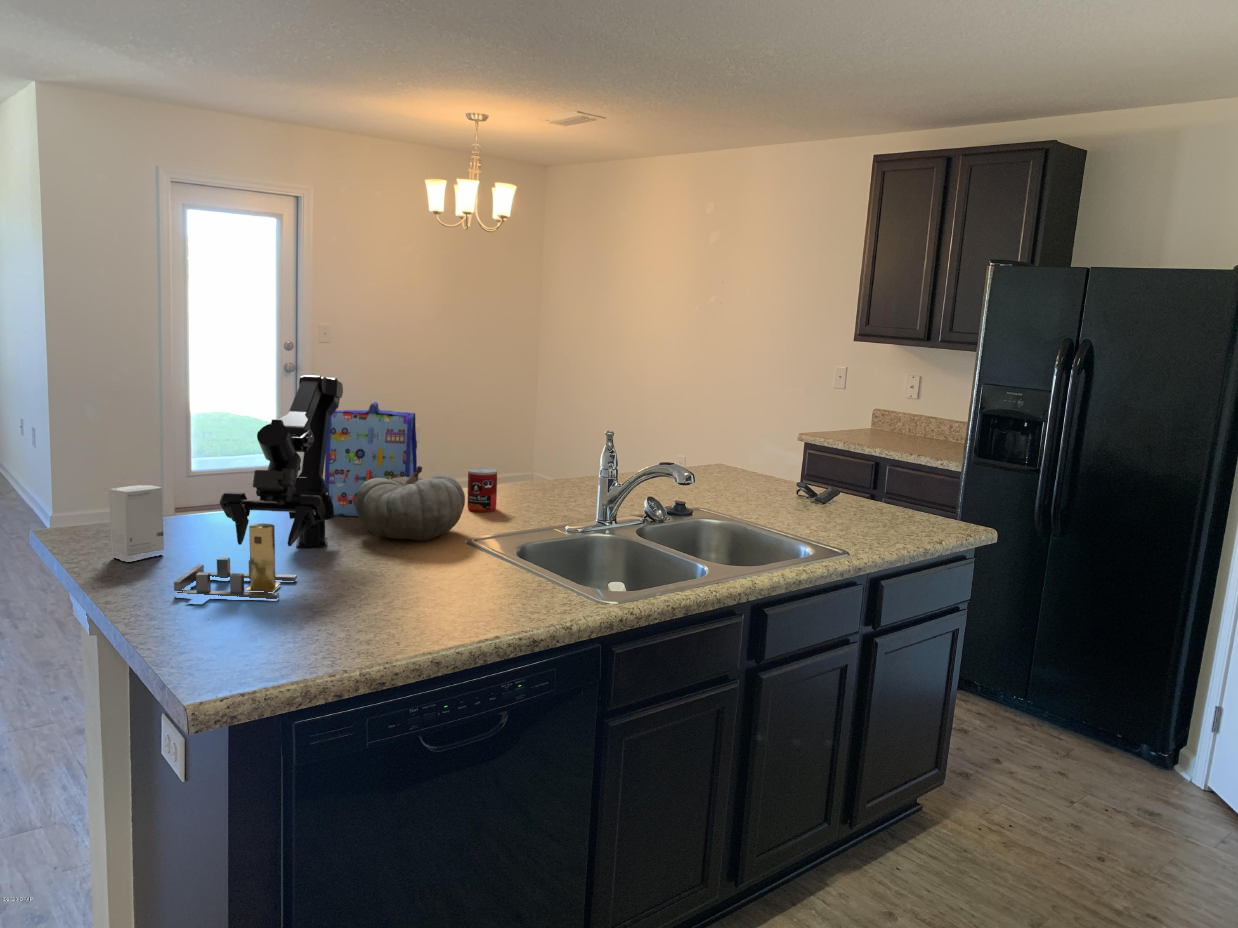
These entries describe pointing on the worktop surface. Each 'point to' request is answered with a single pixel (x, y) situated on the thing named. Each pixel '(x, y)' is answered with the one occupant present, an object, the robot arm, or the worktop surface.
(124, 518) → the skincare box
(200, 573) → the frame
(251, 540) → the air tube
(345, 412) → the lunch bag
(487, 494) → the canned food
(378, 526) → the gourd
